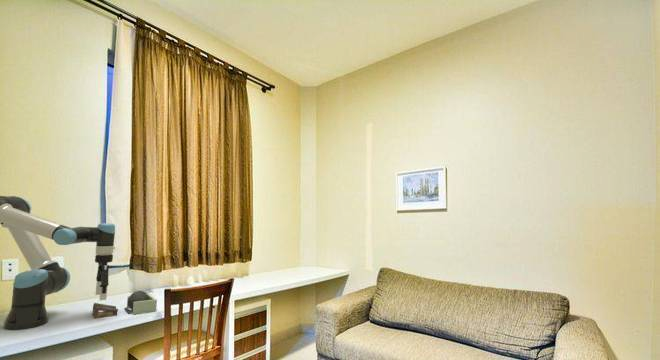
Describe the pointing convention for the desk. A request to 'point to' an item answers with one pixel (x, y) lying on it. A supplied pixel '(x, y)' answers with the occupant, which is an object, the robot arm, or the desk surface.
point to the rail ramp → (104, 310)
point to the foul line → (127, 310)
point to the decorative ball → (137, 298)
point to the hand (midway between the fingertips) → (100, 297)
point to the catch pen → (144, 305)
